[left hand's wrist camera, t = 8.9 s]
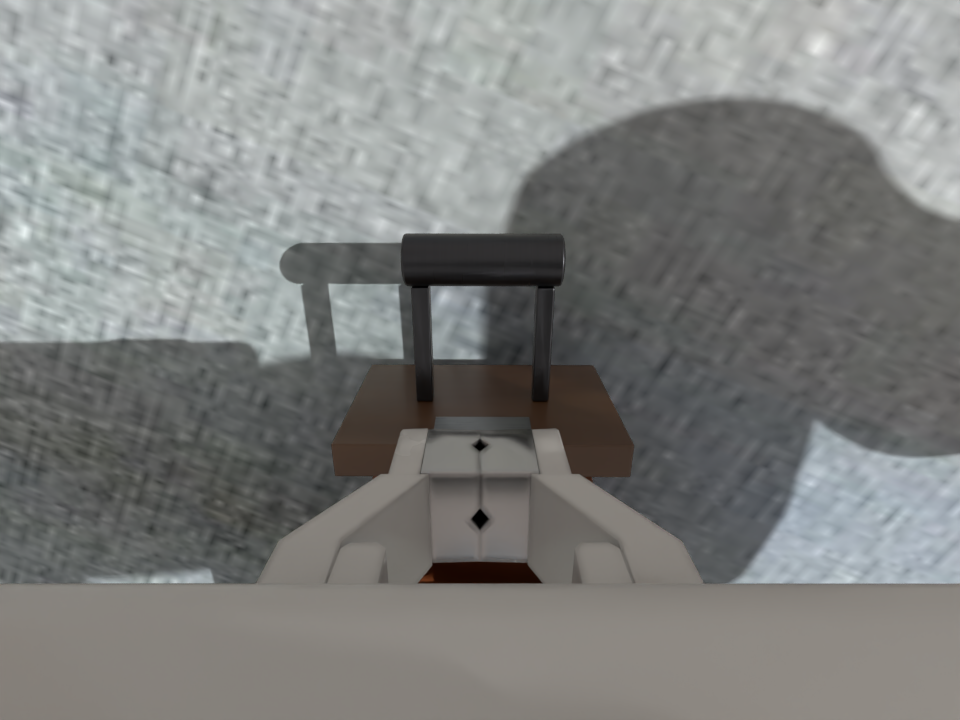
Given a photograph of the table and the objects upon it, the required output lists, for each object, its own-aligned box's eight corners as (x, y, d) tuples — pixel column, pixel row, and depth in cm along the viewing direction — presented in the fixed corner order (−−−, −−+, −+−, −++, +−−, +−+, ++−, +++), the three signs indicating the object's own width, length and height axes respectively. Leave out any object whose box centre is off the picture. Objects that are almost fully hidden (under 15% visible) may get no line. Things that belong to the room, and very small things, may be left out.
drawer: (359, 220, 20) (306, 252, 14) (606, 221, 20) (660, 252, 14) (396, 655, 29) (373, 788, 23) (566, 656, 29) (588, 789, 23)
